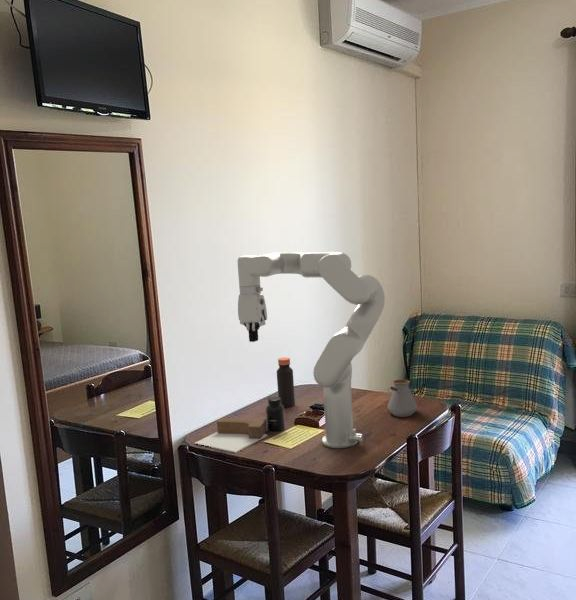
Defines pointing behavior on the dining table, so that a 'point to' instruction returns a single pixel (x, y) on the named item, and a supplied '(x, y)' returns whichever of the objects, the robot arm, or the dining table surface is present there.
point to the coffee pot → (401, 399)
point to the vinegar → (285, 382)
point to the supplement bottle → (275, 415)
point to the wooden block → (242, 426)
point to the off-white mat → (228, 441)
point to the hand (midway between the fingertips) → (253, 341)
